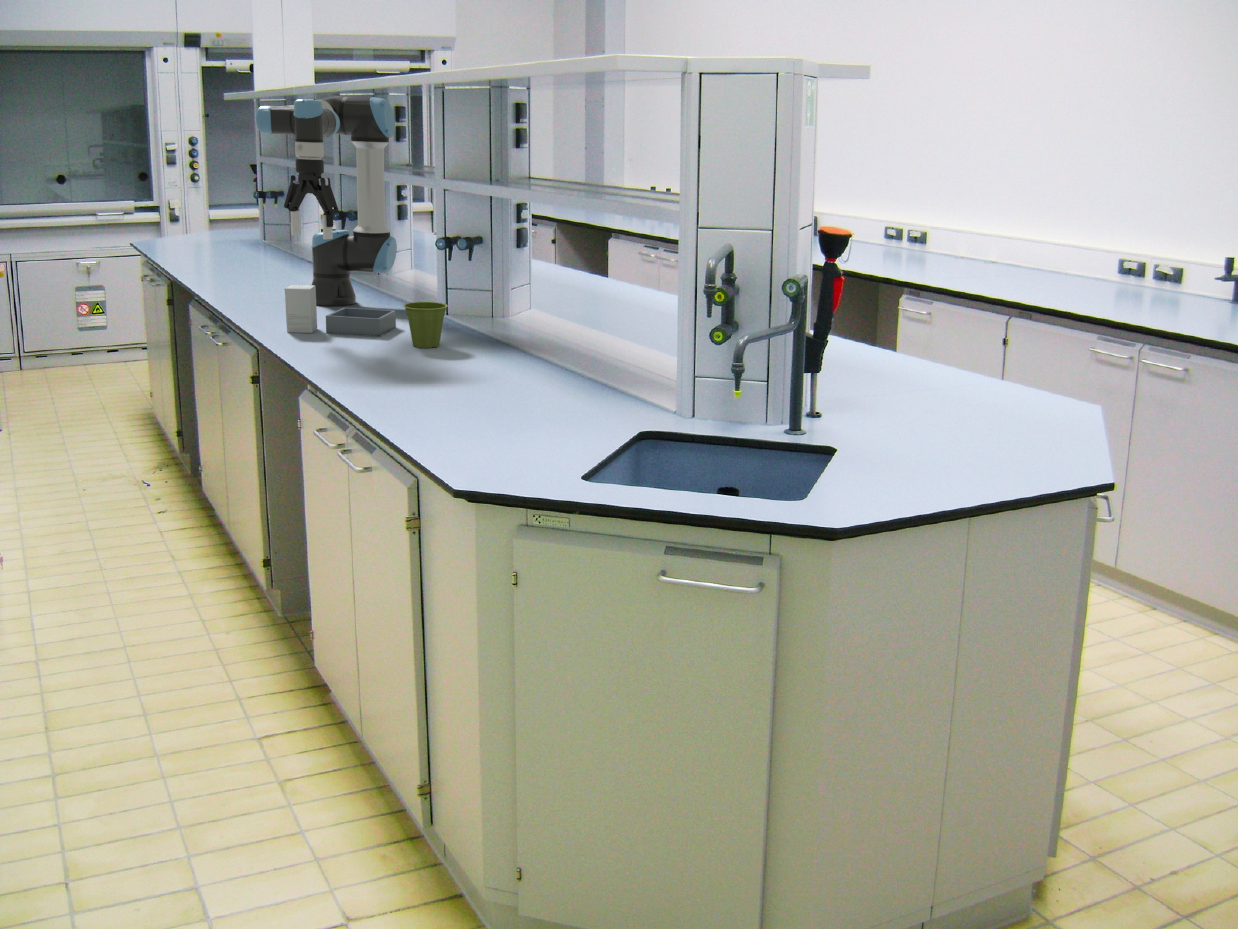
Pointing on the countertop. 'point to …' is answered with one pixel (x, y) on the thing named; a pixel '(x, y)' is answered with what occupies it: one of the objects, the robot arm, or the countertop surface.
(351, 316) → the grey bin
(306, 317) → the supplement box
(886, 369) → the countertop surface
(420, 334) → the plant pot
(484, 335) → the countertop surface
